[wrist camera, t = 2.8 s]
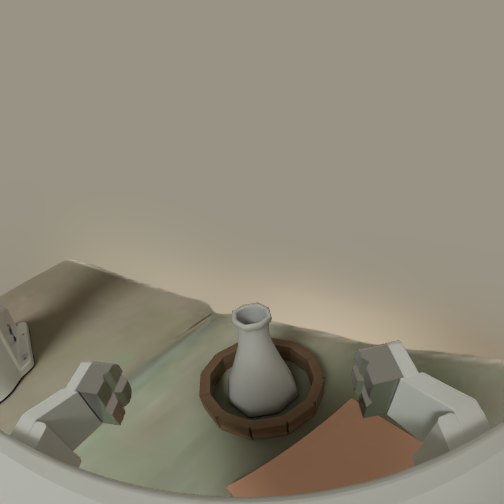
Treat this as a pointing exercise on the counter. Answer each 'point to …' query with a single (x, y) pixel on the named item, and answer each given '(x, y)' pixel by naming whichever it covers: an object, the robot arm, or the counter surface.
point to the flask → (258, 366)
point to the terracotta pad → (333, 457)
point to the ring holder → (267, 425)
